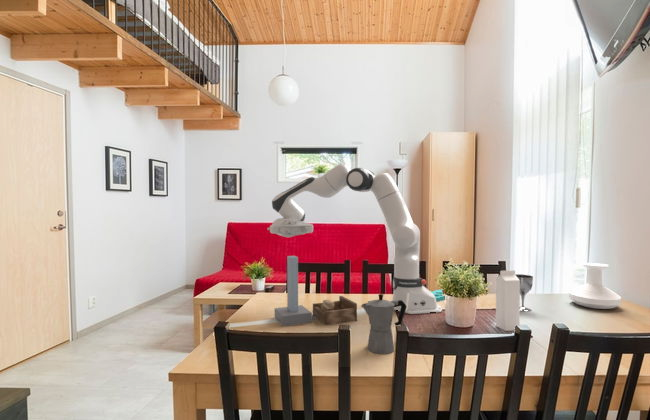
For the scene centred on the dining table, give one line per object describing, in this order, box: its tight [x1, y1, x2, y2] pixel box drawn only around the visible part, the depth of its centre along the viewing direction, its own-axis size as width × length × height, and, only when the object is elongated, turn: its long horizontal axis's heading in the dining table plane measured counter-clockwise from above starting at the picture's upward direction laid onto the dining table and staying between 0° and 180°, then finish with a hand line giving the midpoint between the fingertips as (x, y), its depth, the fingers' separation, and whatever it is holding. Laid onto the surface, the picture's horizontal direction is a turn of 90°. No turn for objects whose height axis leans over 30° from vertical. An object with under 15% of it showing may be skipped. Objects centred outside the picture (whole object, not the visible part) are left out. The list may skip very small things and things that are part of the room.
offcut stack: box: [321, 299, 334, 312], centre depth 155 cm, size 3×8×7 cm, turn 23°
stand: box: [274, 304, 313, 327], centre depth 154 cm, size 12×12×4 cm
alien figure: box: [429, 289, 446, 302], centre depth 190 cm, size 20×2×20 cm
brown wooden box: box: [312, 295, 358, 326], centre depth 157 cm, size 14×14×7 cm
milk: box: [495, 270, 521, 332], centre depth 143 cm, size 6×6×22 cm
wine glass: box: [515, 273, 534, 312], centre depth 169 cm, size 8×8×15 cm
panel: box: [286, 255, 299, 312], centre depth 154 cm, size 3×5×22 cm, turn 23°
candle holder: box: [568, 262, 622, 310], centre depth 174 cm, size 20×20×19 cm
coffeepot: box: [361, 293, 406, 355], centre depth 123 cm, size 15×9×18 cm, turn 101°
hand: (296, 229), depth 168 cm, fingers open, 8 cm apart
